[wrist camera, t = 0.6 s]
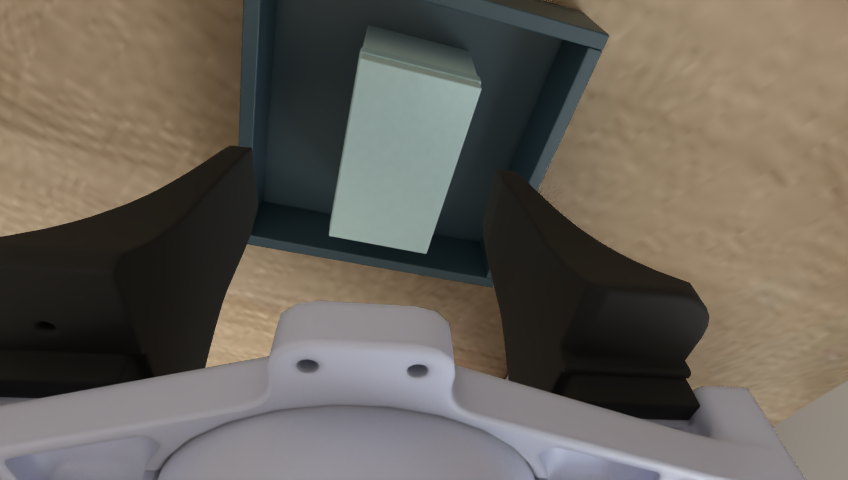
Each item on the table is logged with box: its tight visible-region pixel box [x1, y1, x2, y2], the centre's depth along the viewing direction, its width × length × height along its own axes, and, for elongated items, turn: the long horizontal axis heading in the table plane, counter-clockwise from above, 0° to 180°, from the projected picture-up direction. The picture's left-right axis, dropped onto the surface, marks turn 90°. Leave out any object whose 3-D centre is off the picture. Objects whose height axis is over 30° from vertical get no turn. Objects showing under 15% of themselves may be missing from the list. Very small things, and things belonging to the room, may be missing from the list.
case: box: [329, 25, 481, 254], centre depth 22 cm, size 8×5×4 cm, turn 165°
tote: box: [239, 0, 609, 287], centre depth 22 cm, size 13×13×4 cm
